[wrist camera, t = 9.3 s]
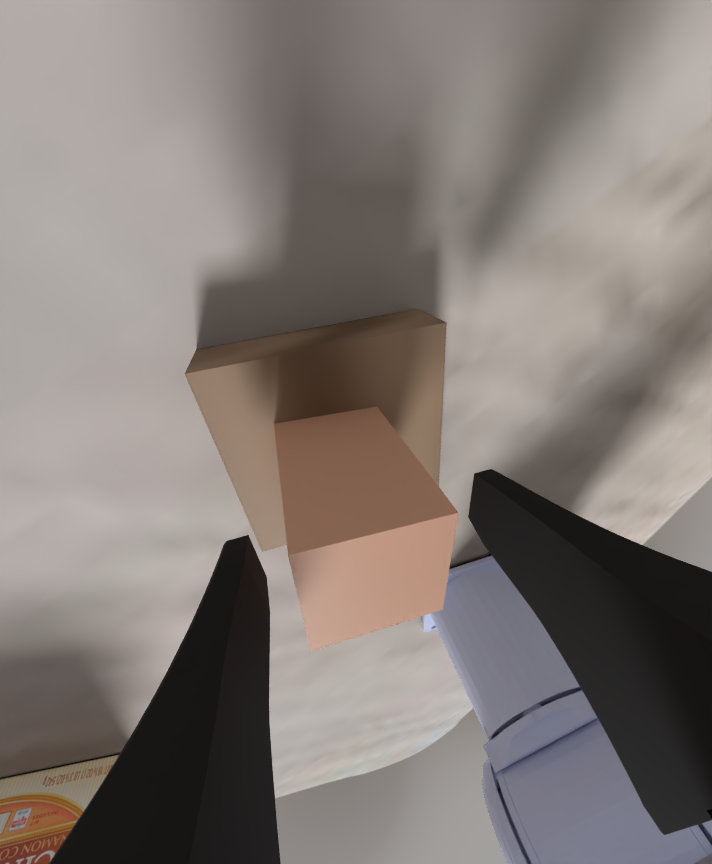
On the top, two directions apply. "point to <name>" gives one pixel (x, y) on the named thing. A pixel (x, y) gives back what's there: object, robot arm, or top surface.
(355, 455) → the terracotta block
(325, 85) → the top surface
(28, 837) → the coffeecake box
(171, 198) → the top surface
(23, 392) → the top surface
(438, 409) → the walnut base block
